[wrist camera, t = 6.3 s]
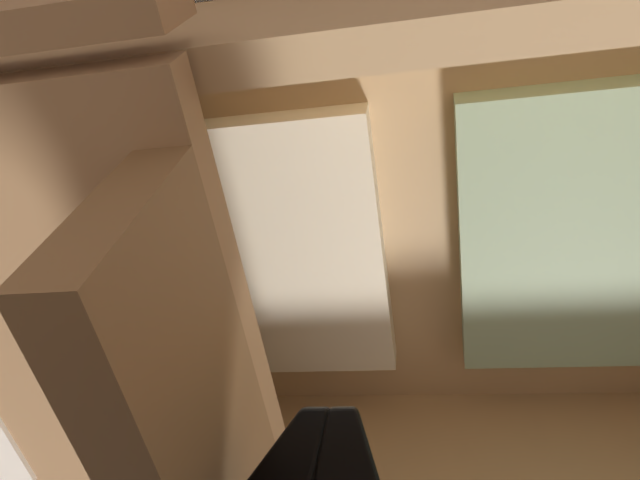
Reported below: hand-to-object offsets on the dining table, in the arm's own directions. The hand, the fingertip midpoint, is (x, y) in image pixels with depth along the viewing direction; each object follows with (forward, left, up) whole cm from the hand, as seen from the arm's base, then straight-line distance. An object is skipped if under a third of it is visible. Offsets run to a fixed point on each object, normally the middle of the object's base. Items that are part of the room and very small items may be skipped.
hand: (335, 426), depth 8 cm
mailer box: (-1, 0, -5) cm, 5 cm away
